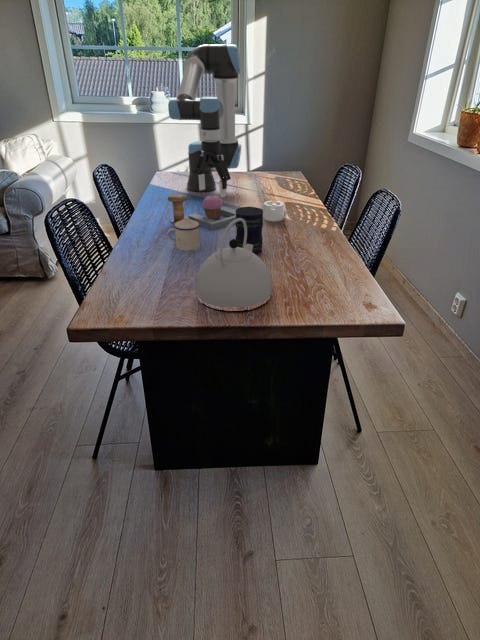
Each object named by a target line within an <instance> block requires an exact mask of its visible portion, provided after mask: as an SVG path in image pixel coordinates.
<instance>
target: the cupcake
mask: <svg viewBox="0 0 480 640" xmlns="http://www.w3.org/2000/svg"><path fill="white" fill-rule="evenodd" d="M201 204H202V206H201V207H202V209H203V210H204V214H205V217H206V218H209V219H212V220H217V219H220V217H221V214H220V209H221V207H222V206H223V205H224V203H223V200H222V199H221V197H220V196H219V195H208V196H206V197H205V198H203V200H202V203H201Z"/></svg>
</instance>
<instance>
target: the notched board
mask: <svg viewBox="0 0 480 640" xmlns="http://www.w3.org/2000/svg"><path fill="white" fill-rule="evenodd" d="M220 215H222V216H225V217H224V218H222V219H219V220H216V219H214V220H213V219H209V218H207V216H203V215H200V214H198V213H192V214H189V215H187V217H189V219H191V220H194V221H197V222H198V223H199V225H201V227H202V226H203V227H204V228H206V229H210V230H212V231H213V230H215V229H220V228H223V227H227V226H228V225H229V224H230V223H231V222H232V221H234V220H235V218H236V209H233V208H230V207H226V206H222V207H221V209H220Z"/></svg>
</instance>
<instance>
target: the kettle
mask: <svg viewBox="0 0 480 640" xmlns="http://www.w3.org/2000/svg"><path fill="white" fill-rule="evenodd" d="M238 221H242V222H243V224H244V242H243V247H242V248H240V247H237V246H238V241H237V240H236V238H235V239H234V238H232V239H230V241H229V243H228V245H229V247H225V248H224V243H225V239H226V236H227V234H228V231H229V230H230V229H231V227H232V226H233V225H235V224H236V222H238ZM246 240H247V225H246V222H245V220H244V219H242V218H238V219H235V220H234V221H232V222H231V223H230V224H229V225H226V226H225V229H224V231H223V233H222V236H221V240H220V243H219V249H218V250H217V251H215V252H214V253H212V254H211V255H210V256H209V257H208V258H206V259H205V261H203V263H202V265H201V266H200V268H199V271H198V274H197V277H196V287H195V289H196V292H197V295H198V297H199V298H200V299H201V300H203V301H204V302H206V303H208V304H211V305H214V306H219V307H230V308H232V307H248V306H253V305H257V304H259V303H262V302H264V301H265V300H267V299H268V298H269V296H270V295H271V296H272V279H271V275H270V271H269V269H268V267H267V265H266V264H265V262H264V261H263V260H262V259H261V258H260V257H259V256H258V255H255V254H254V253H252V249H253V245H251V244H247V245H246Z"/></svg>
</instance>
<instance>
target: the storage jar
mask: <svg viewBox="0 0 480 640" xmlns="http://www.w3.org/2000/svg"><path fill="white" fill-rule="evenodd" d="M235 210H236V218H235V219H238V218H242V219H244V220H245V222H246V225H247V240H246V245H247V244H251V245H253V249H252V253H254V254H255V255H257V256H258V255H260V254H262V252H263V249H262V248H263V243H264V242H263V241H264V238H263V228H264V218H263V216H264V209H262V208H260V207H255V206H242V207H238V208H236V209H235ZM235 227H236V228H235V229H236V236H235V240H237V241H238V246H237V247H240V248H242V247H243V242H244V224H243V222H242V221H238V222H236V223H235Z"/></svg>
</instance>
